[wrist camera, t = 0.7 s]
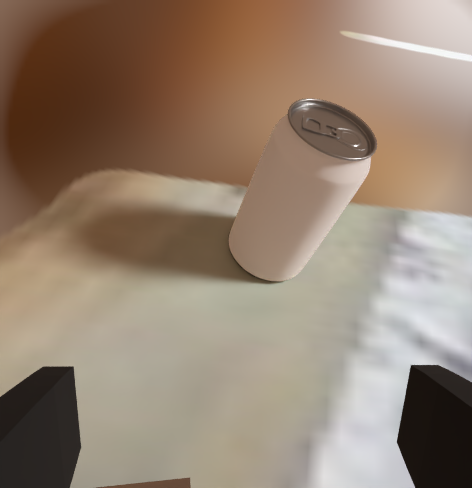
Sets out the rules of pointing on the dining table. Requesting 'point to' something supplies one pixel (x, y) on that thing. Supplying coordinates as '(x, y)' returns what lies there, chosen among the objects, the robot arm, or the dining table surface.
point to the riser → (157, 484)
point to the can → (300, 187)
